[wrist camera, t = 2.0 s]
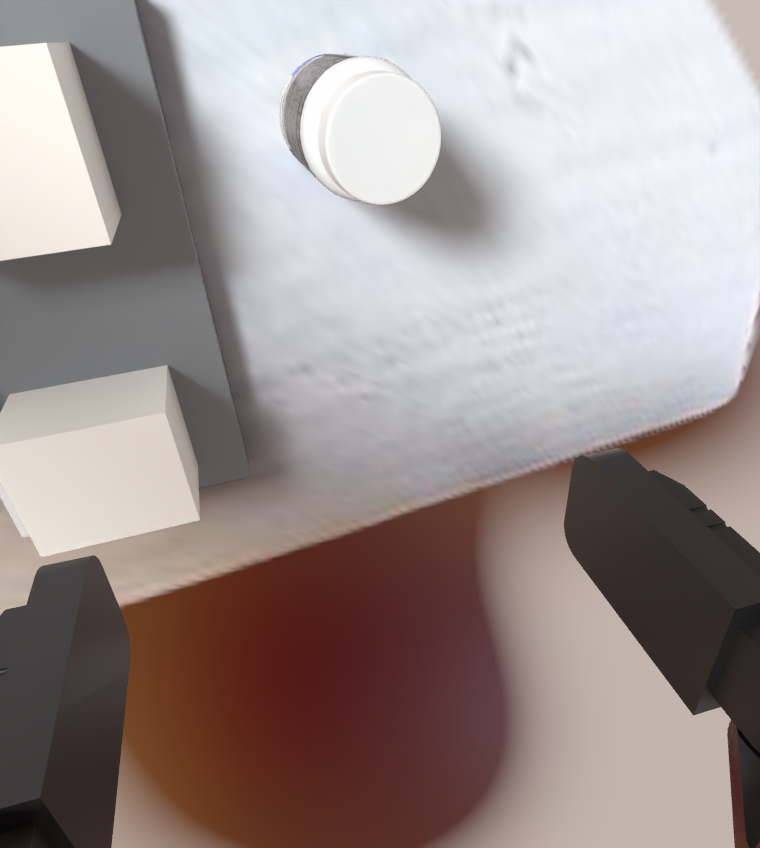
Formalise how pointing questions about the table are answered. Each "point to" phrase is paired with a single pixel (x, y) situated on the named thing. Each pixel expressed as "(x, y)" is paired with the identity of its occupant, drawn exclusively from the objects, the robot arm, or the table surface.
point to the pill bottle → (360, 127)
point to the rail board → (99, 291)
